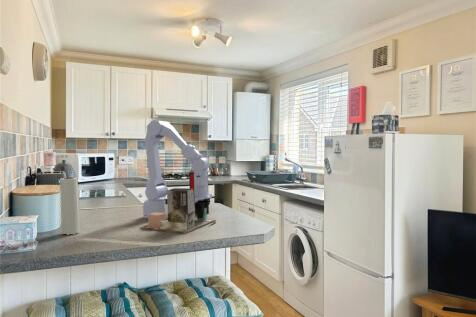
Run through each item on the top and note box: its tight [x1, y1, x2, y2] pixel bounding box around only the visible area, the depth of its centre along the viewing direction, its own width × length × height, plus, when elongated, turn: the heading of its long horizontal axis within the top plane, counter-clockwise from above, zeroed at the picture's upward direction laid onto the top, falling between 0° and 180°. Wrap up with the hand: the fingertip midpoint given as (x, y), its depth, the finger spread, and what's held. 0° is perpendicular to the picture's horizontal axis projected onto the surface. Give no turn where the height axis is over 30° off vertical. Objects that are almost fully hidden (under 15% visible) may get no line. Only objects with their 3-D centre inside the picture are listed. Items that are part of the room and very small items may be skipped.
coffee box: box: [166, 187, 196, 230], centre depth 133 cm, size 9×6×16 cm
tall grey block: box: [59, 177, 80, 236], centre depth 131 cm, size 7×6×21 cm
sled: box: [160, 208, 212, 232], centre depth 138 cm, size 12×21×6 cm, turn 154°
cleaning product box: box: [188, 169, 210, 215], centre depth 172 cm, size 16×9×20 cm, turn 6°
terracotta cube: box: [147, 212, 167, 228], centre depth 136 cm, size 5×5×5 cm
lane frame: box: [139, 217, 216, 235], centre depth 139 cm, size 21×22×6 cm
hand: (201, 217), depth 147 cm, fingers closed on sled, 2 cm apart
